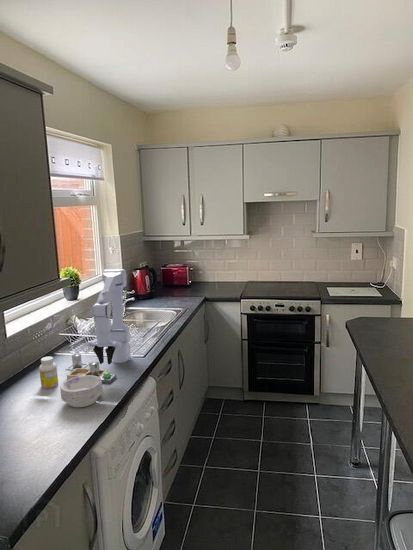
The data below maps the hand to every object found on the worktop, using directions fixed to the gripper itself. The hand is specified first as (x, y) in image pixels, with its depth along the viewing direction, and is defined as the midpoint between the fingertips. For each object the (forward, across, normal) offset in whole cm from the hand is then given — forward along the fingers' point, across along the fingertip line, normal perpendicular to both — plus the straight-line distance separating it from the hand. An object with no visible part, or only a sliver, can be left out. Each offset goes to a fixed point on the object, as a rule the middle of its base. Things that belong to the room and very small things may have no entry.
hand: (105, 363), depth 179 cm
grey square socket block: (+8, 0, 0) cm, 8 cm away
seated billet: (+7, -7, +2) cm, 10 cm away
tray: (+8, -20, +11) cm, 24 cm away
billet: (+8, -20, +11) cm, 24 cm away
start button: (+8, 0, 0) cm, 8 cm away
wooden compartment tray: (+8, -10, +2) cm, 14 cm away
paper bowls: (+9, -1, -18) cm, 20 cm away
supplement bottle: (+9, -21, -9) cm, 25 cm away
